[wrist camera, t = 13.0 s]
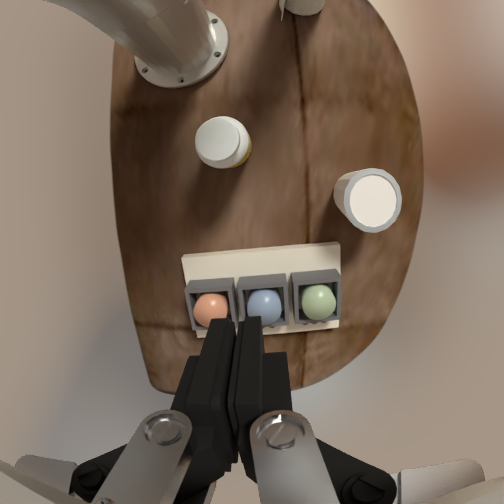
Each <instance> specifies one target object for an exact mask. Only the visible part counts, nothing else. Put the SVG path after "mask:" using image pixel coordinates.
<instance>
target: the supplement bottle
mask: <svg viewBox="0 0 504 504" xmlns="http://www.w3.org/2000/svg"><path fill="white" fill-rule="evenodd" d="M195 147H196V151H197V153H198V155H199V157H200V158H201V160H202V161H203V162H204V163H206V164H207V165H209V166H211V167H215V168H221V169H222V168H234V167H237V166H239V165H241V164H242V163H243V162H245V161H246V160H247V158H248V157H249V155H250V153H251V149H252V143H251V139H250V136H249V135H248V133H247V131H246V129H245V127H244V126H243V125H242V124H241V123H240V122H239V121H237V120H236V119H234V118H231V117H226V116H220V117H215V118H212V119H210V120H208V121H206V122H205V123H203V124H202V125H201V126H200V128H199V129H198V131H197V133H196V137H195Z"/></svg>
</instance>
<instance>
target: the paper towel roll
mask: <svg viewBox="0 0 504 504" xmlns="http://www.w3.org/2000/svg"><path fill="white" fill-rule="evenodd" d="M325 2H326V0H279V6H280V9H281V11H282V16H281V21H282V18H283V12H284V7H285V8H286V9H287V10H288V11H290V12H292V13H294V14H298V15H313V14H316V13H318V12H319V11H320V10H322V9H323V7H324V4H325Z"/></svg>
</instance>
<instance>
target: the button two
mask: <svg viewBox="0 0 504 504" xmlns="http://www.w3.org/2000/svg"><path fill="white" fill-rule="evenodd" d="M281 311H282V309H281V301H280V294H279V291H278V289H277V288H276V287H274V288H261V289H251V290H250V292H249V298H248V307H247V313H248V316H249V317H250V316H261V319H262V325H268V324H272V323H274V322H275V321H277V320H278V318H279V317H280V315H281Z"/></svg>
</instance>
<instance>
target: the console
mask: <svg viewBox="0 0 504 504" xmlns="http://www.w3.org/2000/svg"><path fill="white" fill-rule="evenodd" d="M181 259H182V264H183V270H184V275H185V281H186V287H185V289H184V292H185V297H186V302H187V306H188V311H189V316H190V320H191V325H192V329H193V330H196V333H197V338H201V337H206V334H207V331H208V327H205V326H202V325H201V324H199V323H198V322H197V320H196V319H195V317H194V314H193V310H194V307H195V304H196V302H197V300H198V298H199V296H200V294H201V293H202V292H219V291H225V292H226V293H227V295H228V297H229V307H228V311H227V316H226V318H228V320H229V322H234V323H235V328H236V335H237V329H238V322H239V321H244V318H245V317H249V316H248V313H247V307H248V298H249V292H250V290H251V289H261V288H274V287H276V288H277V289H278V291H279V294H280V301H281V309H282V311H281V315H280V317H279V318H278V320H277V321H275V322H274V323H272V324H268V325H262V330H263V335H265V334H278V333H290V332H301V331H311V330H320V329H328V328H336V327H339V320H340V318H341V292H342V277H341V275H340V244H339V243H338V242H325V243H313V244H301V245H289V246H277V247H265V248H253V249H242V250H230V251H218V252H207V253H195V254H184V255H183V257H182V258H181ZM318 283H327V284H328V286H329V287H330V289H331V291H332V293H333V295H334V297H335V300H336V307H335V310H334V312H333V313H332V314H331V315H330V316H329V317H327V318H325V319H322V320H313V319H310V318H309V317H307V316H306V315H305V313H304V311H303V307H302V303H301V300H300V295H299V293H300V289H301V287H302V285H308V284H318Z"/></svg>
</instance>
